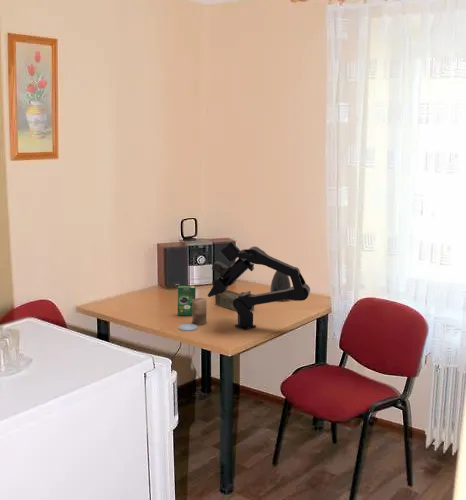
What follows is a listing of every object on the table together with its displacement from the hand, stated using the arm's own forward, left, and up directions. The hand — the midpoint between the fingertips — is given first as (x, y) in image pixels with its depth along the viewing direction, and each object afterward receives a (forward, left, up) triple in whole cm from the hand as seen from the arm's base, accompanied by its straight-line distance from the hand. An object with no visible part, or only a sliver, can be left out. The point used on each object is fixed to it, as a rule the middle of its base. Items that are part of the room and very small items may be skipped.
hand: (211, 293), depth 264 cm
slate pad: (+1, +11, -13) cm, 17 cm away
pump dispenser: (+10, -50, -14) cm, 53 cm away
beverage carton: (+13, -23, -14) cm, 30 cm away
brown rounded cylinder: (+4, +3, -13) cm, 14 cm away
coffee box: (+17, +1, -14) cm, 22 cm away
